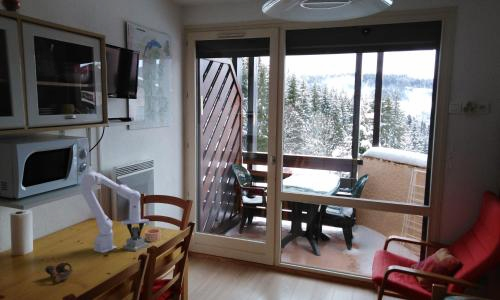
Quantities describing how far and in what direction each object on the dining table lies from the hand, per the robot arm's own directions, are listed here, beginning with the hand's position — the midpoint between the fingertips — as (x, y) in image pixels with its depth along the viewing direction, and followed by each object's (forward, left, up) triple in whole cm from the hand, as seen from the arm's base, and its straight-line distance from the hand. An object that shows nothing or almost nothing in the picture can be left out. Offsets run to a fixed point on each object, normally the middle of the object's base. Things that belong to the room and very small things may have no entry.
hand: (135, 236), depth 206 cm
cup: (+14, 0, -6) cm, 15 cm away
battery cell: (0, 0, -2) cm, 2 cm away
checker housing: (0, 0, -6) cm, 6 cm away
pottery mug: (-45, +3, -6) cm, 45 cm away
